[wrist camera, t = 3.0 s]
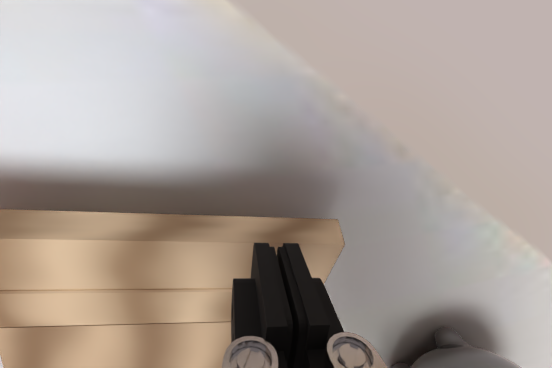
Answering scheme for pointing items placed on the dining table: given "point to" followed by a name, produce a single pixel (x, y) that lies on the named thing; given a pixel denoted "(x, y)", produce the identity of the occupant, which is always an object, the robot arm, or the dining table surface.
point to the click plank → (140, 264)
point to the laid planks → (116, 345)
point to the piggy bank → (457, 354)
